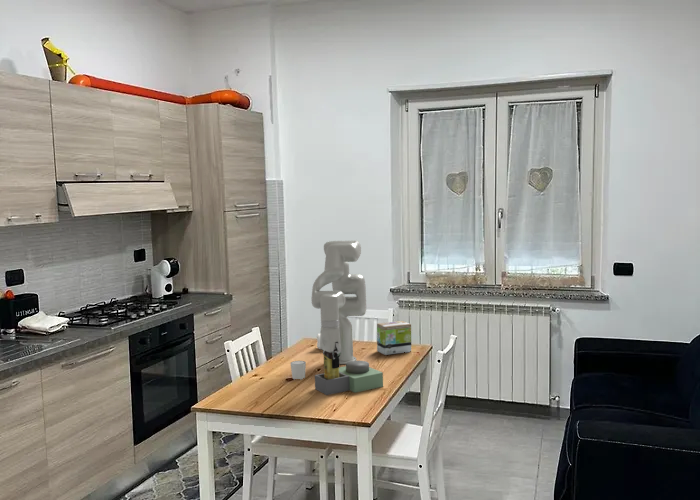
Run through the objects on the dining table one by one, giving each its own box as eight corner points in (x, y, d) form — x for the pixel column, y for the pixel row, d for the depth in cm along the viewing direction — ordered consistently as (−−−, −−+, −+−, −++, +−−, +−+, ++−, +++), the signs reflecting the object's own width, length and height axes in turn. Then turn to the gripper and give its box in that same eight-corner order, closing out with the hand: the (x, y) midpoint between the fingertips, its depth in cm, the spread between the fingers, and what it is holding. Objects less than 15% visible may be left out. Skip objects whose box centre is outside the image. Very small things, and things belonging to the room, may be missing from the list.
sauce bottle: (325, 379, 273) (323, 333, 271) (339, 378, 272) (338, 332, 271) (324, 383, 266) (322, 336, 264) (339, 383, 266) (337, 336, 264)
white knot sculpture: (338, 346, 344) (337, 329, 343) (339, 351, 332) (338, 334, 331) (317, 347, 343) (316, 330, 342) (317, 352, 331) (316, 335, 330)
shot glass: (308, 376, 290) (308, 360, 290) (302, 380, 284) (302, 365, 283) (294, 375, 292) (294, 360, 292) (288, 379, 286) (287, 364, 285)
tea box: (385, 355, 321) (384, 326, 320) (376, 351, 330) (376, 323, 329) (412, 352, 327) (411, 323, 326) (402, 347, 336) (402, 319, 335)
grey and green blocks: (310, 386, 274) (310, 366, 274) (360, 376, 287) (360, 356, 286) (331, 397, 259) (330, 375, 258) (383, 386, 272) (382, 365, 271)
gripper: (312, 321, 272) (314, 363, 274) (332, 328, 258) (333, 372, 259) (328, 319, 276) (329, 360, 278) (348, 326, 261) (349, 369, 263)
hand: (331, 365), depth 269 cm, fingers closed on sauce bottle, 6 cm apart
